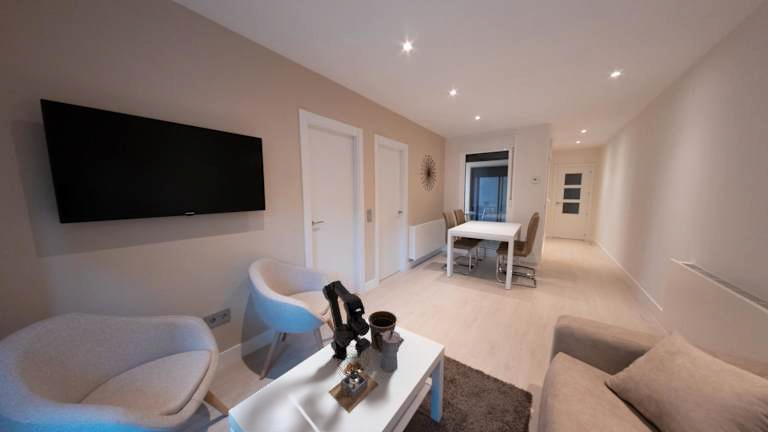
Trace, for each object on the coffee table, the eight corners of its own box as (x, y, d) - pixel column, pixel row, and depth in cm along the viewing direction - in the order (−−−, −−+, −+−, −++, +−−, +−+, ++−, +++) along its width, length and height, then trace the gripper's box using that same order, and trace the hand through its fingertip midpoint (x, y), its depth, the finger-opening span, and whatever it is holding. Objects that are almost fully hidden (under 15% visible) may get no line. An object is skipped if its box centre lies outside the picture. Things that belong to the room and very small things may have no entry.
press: (338, 390, 103) (338, 382, 102) (355, 376, 110) (355, 369, 109) (351, 402, 98) (351, 394, 97) (367, 387, 105) (367, 379, 104)
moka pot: (402, 377, 111) (403, 339, 108) (370, 371, 114) (371, 335, 111) (404, 362, 120) (405, 327, 117) (375, 357, 123) (375, 322, 120)
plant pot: (370, 333, 142) (371, 309, 140) (397, 336, 140) (397, 311, 137) (365, 352, 126) (365, 326, 124) (394, 356, 124) (395, 329, 122)
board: (328, 393, 102) (328, 391, 102) (358, 368, 116) (358, 367, 116) (349, 415, 93) (349, 413, 93) (379, 385, 107) (379, 384, 106)
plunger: (344, 387, 104) (344, 373, 103) (354, 378, 108) (354, 365, 107) (353, 395, 100) (353, 381, 99) (363, 386, 104) (363, 372, 103)
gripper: (326, 321, 108) (326, 351, 111) (352, 342, 96) (351, 374, 99) (345, 311, 116) (345, 339, 119) (371, 329, 104) (370, 359, 107)
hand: (352, 352), depth 111 cm, fingers open, 9 cm apart
